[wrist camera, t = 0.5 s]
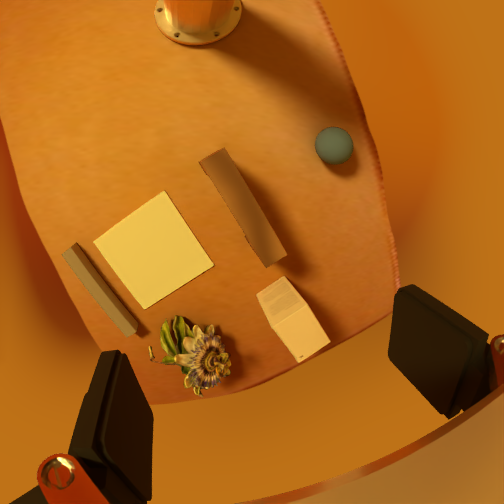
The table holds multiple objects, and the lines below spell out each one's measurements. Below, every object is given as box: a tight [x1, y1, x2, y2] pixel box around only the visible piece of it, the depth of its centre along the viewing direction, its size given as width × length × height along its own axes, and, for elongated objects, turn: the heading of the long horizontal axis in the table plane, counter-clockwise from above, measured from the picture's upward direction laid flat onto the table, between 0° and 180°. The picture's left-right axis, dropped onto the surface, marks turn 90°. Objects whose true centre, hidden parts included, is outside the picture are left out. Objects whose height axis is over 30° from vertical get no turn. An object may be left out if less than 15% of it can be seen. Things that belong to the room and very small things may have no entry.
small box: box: [256, 276, 331, 363], centre depth 44 cm, size 8×6×10 cm
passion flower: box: [148, 315, 231, 397], centre depth 45 cm, size 11×11×12 cm
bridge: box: [199, 148, 287, 268], centre depth 38 cm, size 3×14×9 cm, turn 31°
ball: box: [315, 127, 353, 165], centre depth 40 cm, size 6×6×6 cm
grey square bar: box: [62, 243, 138, 337], centre depth 41 cm, size 16×2×2 cm, turn 31°
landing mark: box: [94, 190, 214, 310], centre depth 42 cm, size 13×13×1 cm
